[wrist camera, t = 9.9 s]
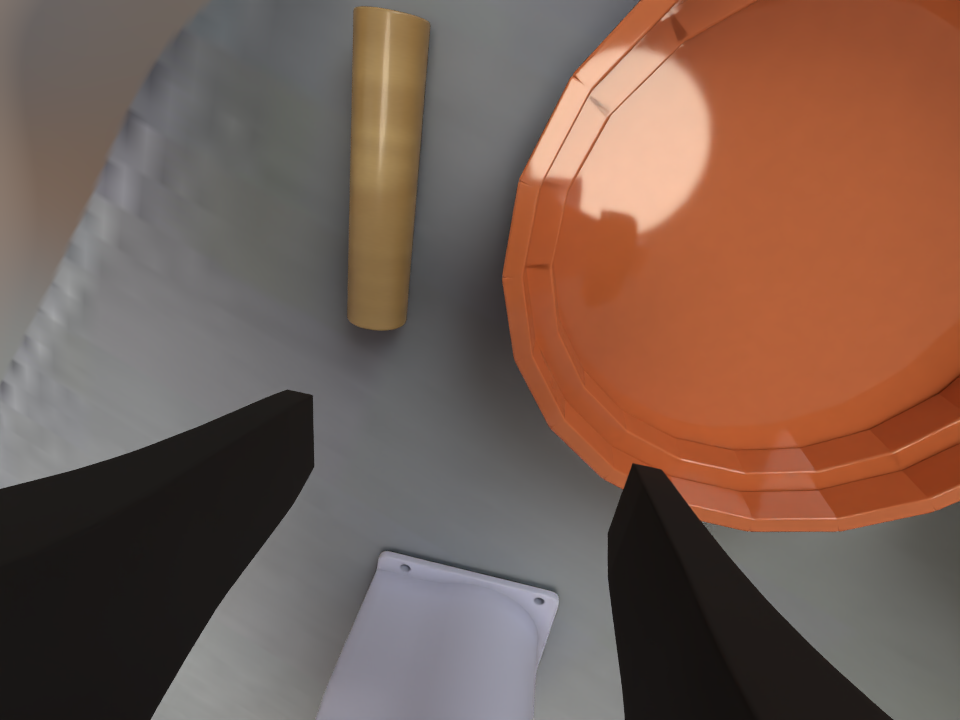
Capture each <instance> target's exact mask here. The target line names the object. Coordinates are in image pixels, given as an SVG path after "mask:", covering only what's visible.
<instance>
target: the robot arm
mask: <svg viewBox="0 0 960 720" xmlns="http://www.w3.org/2000/svg"><path fill="white" fill-rule="evenodd" d="M313 468H314V433H313V395H310V394H305V393H301V392H296V391H291V390H285V391H282V392H279V393H277V394H274V395H272V396H269V397H267V398H264V399H262V400H259V401H257V402H255V403H252V404H250V405H248V406H245V407H243V408H241V409H239V410H236V411H234V412H232V413H229V414H227V415H225V416H222V417H220V418H217V419H215V420H213V421H210V422H208V423H206V424H203V425H201V426H199V427H196V428H194V429H191V430H188V431H186V432H183V433H181V434H178V435H175V436H173V437H170V438H168V439H165V440H163V441H160V442H157V443H155V444H152V445H150V446H147V447H144V448H141V449H139V450H136V451H133V452H130V453H127V454H124V455H121V456H118V457H115V458H112V459H109V460H106V461H102V462H99V463H96V464H93V465H89V466H86V467H83V468H79V469H76V470H73V471H69V472H65V473H61V474H57V475H54V476H50V477H46V478H42V479H38V480H34V481H30V482H26V483H22V484H18V485H14V486H10V487H6V488H2V489H0V720H151V718H152V716H153V714H154V712H155V711H156V709H157V707H158V705H159V704H160V702H161V700H162V698H163V697H164V695H165V693H166V692H167V690H168V688H169V686H170V685H171V683H172V681H173V680H174V678H175V676H176V674H177V673H178V671H179V669H180V668H181V666H182V664H183V662H184V661H185V659H186V657H187V656H188V654H189V652H190V651H191V649H192V647H193V646H194V644H195V642H196V641H197V639H198V638H199V636H200V634H201V633H202V631H203V629H204V628H205V626H206V625H207V623H208V621H209V620H210V618H211V616H212V615H213V613H214V612H215V610H216V608H217V607H218V606H219V604H220V603H221V601H222V600H223V598H224V597H225V595H226V594H227V593H228V591H229V590H230V588H231V587H232V586H233V584H234V583H235V582H236V580H237V579H238V578H239V576H240V575H241V574H242V572H243V571H244V570H245V568H246V567H247V566H248V564H249V563H250V562H251V560H252V559H253V558H254V556H255V555H256V554H257V552H258V551H259V550H260V548H261V547H262V546H263V544H264V543H265V542H266V540H267V539H268V538H269V536H270V535H271V534H272V532H273V531H274V530H275V528H276V527H277V526H278V524H279V523H280V522H281V520H282V519H283V518H284V516H285V515H286V514H287V512H288V511H289V509H290V508H291V507H292V505H293V504H294V502H295V500H296V499H297V497H298V495H299V493H300V492H301V490H302V488H303V486H304V485H305V483H306V481H307V479H308V477H309V475H310V473H311V472H312V470H313ZM608 582H609V590H610V598H611V606H612V614H613V622H614V629H615V637H616V645H617V652H618V660H619V667H620V675H621V683H622V691H623V702H624V713H625V720H893V719H892V718H891V717H890V716H888V715H887V714H886V713H885V712H884V711H882V710H881V709H880V708H879V707H878V706H877V705H876V704H875V703H873V702H872V701H871V700H870V699H869V698H868V697H867V696H866V695H864V694H863V693H862V692H861V691H860V690H859V689H858V688H857V687H856V686H854V685H853V684H852V683H851V682H850V681H849V680H848V679H847V678H846V677H844V676H843V675H842V674H841V673H840V672H839V671H838V670H837V669H836V668H834V667H833V666H832V665H831V664H830V663H829V662H828V661H827V660H826V659H825V658H824V657H823V656H822V655H821V654H820V653H819V652H818V651H816V650H815V649H814V648H813V647H812V646H811V645H810V644H809V643H808V642H807V641H806V640H805V639H804V638H803V637H802V636H801V635H800V634H799V633H798V632H797V631H796V630H795V629H794V628H793V627H792V626H791V624H790V623H789V622H788V621H787V620H786V619H785V618H784V617H783V616H782V615H781V614H780V613H779V612H778V611H777V610H776V609H775V608H774V607H773V606H772V605H771V604H770V603H769V602H768V601H767V600H766V598H765V597H764V596H763V595H762V594H761V593H760V592H759V591H758V590H757V588H756V587H755V586H754V585H753V584H752V583H751V582H750V580H749V579H748V578H747V577H746V576H745V575H744V574H743V572H742V571H741V570H740V569H739V568H738V567H737V566H736V564H735V563H734V562H733V561H732V560H731V558H730V557H729V556H728V555H727V554H726V552H725V551H724V550H723V549H722V547H721V546H720V545H719V544H718V542H717V541H716V540H715V539H714V537H713V536H712V535H711V534H710V532H709V531H708V530H707V529H706V527H705V526H704V525H703V523H702V522H701V521H700V519H699V518H698V517H697V515H696V514H695V513H694V511H693V510H692V509H691V507H690V506H689V505H688V503H687V502H686V501H685V499H684V498H683V497H682V495H681V494H680V493H679V491H678V490H677V489H676V487H675V486H674V485H673V483H672V482H671V481H670V479H669V478H668V477H667V475H666V474H665V473H664V472H663V470H662V469H658V468H653V467H649V466H644V465H639V464H635V463H632V466H631V469H630V472H629V475H628V477H627V480H626V483H625V486H624V489H623V492H622V494H621V497H620V500H619V503H618V506H617V509H616V511H615V514H614V517H613V520H612V523H611V526H610V528H609V531H608ZM558 606H559V597H558V595H557V594H556V593H555V592H552V591H549V590H545V589H541V588H537V587H533V586H529V585H525V584H521V583H516V582H512V581H508V580H504V579H500V578H496V577H492V576H488V575H484V574H480V573H476V572H472V571H468V570H464V569H459V568H455V567H451V566H447V565H443V564H439V563H435V562H431V561H427V560H423V559H419V558H415V557H411V556H406V555H402V554H398V553H394V552H390V551H384V552H382V553H381V554H380V556H379V559H378V565H377V570H376V573H375V575H374V577H373V580H372V582H371V584H370V587H369V589H368V591H367V593H366V596H365V598H364V600H363V603H362V605H361V607H360V610H359V612H358V614H357V616H356V619H355V621H354V623H353V626H352V628H351V630H350V633H349V635H348V637H347V640H346V642H345V644H344V646H343V649H342V651H341V653H340V656H339V658H338V660H337V663H336V665H335V667H334V670H333V672H332V674H331V677H330V679H329V682H328V684H327V687H326V690H325V692H324V695H323V698H322V701H321V704H320V707H319V710H318V713H317V716H316V719H315V720H533V718H534V701H535V685H536V671H537V668H538V665H539V662H540V659H541V656H542V653H543V650H544V647H545V644H546V641H547V638H548V635H549V632H550V629H551V626H552V623H553V621H554V618H555V615H556V612H557V609H558Z"/></svg>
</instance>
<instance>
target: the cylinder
mask: <svg viewBox="0 0 960 720" xmlns="http://www.w3.org/2000/svg"><path fill="white" fill-rule="evenodd" d="M429 36H430V23H429V22H428V21H427V20H425V19H423V18H420V17H418V16H415V15H411V14H408V13H404V12H399V11H395V10H390V9H384V8H378V7H368V6H359V7H355V8H354V11H353V59H352V107H351V156H350V204H349V253H348V301H347V318H348V320H349V321H350V322H351V323H352V324H354V325H356V326H358V327H361V328H364V329H369V330H392V329H396V328H399V327H401V326H403V325H404V324H405V322H406V318H407V306H408V294H409V282H410V269H411V257H412V245H413V233H414V220H415V208H416V196H417V184H418V171H419V159H420V147H421V135H422V122H423V110H424V98H425V86H426V73H427V61H428V49H429Z"/></svg>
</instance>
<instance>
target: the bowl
mask: <svg viewBox="0 0 960 720" xmlns="http://www.w3.org/2000/svg"><path fill="white" fill-rule="evenodd" d="M502 276H503V277H502V283H503V290H504V297H505V303H506V310H507V317H508V323H509V330H510V337H511V343H512V350H513V357H514V360H515V363H516V365H517V367H518V369H519V370H520V372H521V374H522V376H523V378H524V380H525V382H526V384H527V386H528V388H529V390H530V391H531V393H532V395H533V397H534V399H535V401H536V403H537V405H538V407H539V409H540V411H541V413H542V414H543V416H544V418H545V420H546V422H547V424H548V426H549V427H550V428H551V430H552V431H553V432H555V433H556V434H557V435H558V436H559V437H560V438H561V439H562V440H563V441H564V442H565V443H566V444H567V445H568V446H569V447H570V448H571V449H572V450H573V451H574V452H575V453H576V454H577V455H578V456H579V457H580V458H581V459H582V460H583V461H584V462H586V463H587V464H588V465H589V466H590V467H591V468H592V469H593V470H594V471H595V472H596V473H597V474H598V475H599V476H600V477H601V478H603V479H604V480H606V481H608V482H610V483H612V484H613V485H615V486H617V487H619V488H621V489H624V486H625V483H626V480H627V477H628V475H629V472H630V469H631V466H632V463H635V464H639V465H644V466H649V467H653V468H658V469H662V470H663V472H664V473H665V474H666V475H667V477H668V478H669V479H670V481H671V482H672V483H673V485H674V486H675V487H676V489H677V490H678V491H679V493H680V494H681V495H682V497H683V498H684V499H685V501H686V502H687V503H688V505H689V506H690V507H691V509H692V510H693V511H694V513H695V514H696V515H697V517H698V518H699V519H700V521H703V522H708V523H712V524H716V525H721V526H725V527H730V528H734V529H738V530H743V531H751V532H836V531H845V530H850V529H855V528H859V527H864V526H869V525H874V524H879V523H883V522H888V521H893V520H898V519H903V518H907V517H912V516H917V515H922V514H927V513H931V512H934V510H935V511H937V510H940V509H942V508H944V507H947V506H949V505H951V504H954V503H956V502H958V501H960V0H640V1H639V2H638V3H637V5H636V6H635V7H634V8H633V9H632V10H631V11H630V12H629V13H628V14H627V15H626V16H625V18H624V19H623V20H622V21H621V22H620V23H619V24H618V25H617V26H616V27H615V28H614V30H613V31H612V32H611V33H610V34H609V35H608V36H607V37H606V38H605V39H604V40H603V41H602V43H601V44H600V45H599V46H598V47H597V48H596V49H595V50H594V51H593V52H592V53H591V55H590V56H589V57H588V58H587V59H586V60H585V61H584V62H583V63H582V64H581V65H580V67H579V68H578V69H577V70H576V71H575V72H574V73H573V76H571V77H570V79H569V81H568V83H567V85H566V87H565V89H564V91H563V93H562V95H561V97H560V99H559V101H558V103H557V105H556V107H555V109H554V111H553V113H552V115H551V117H550V119H549V121H548V123H547V125H546V127H545V129H544V131H543V133H542V134H541V136H540V138H539V140H538V142H537V144H536V146H535V148H534V150H533V152H532V154H531V156H530V158H529V160H528V162H527V164H526V166H525V168H524V170H523V172H522V174H521V176H520V178H519V182H518V185H517V191H516V197H515V203H514V209H513V214H512V220H511V226H510V232H509V238H508V243H507V249H506V255H505V261H504V266H503V272H502Z"/></svg>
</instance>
